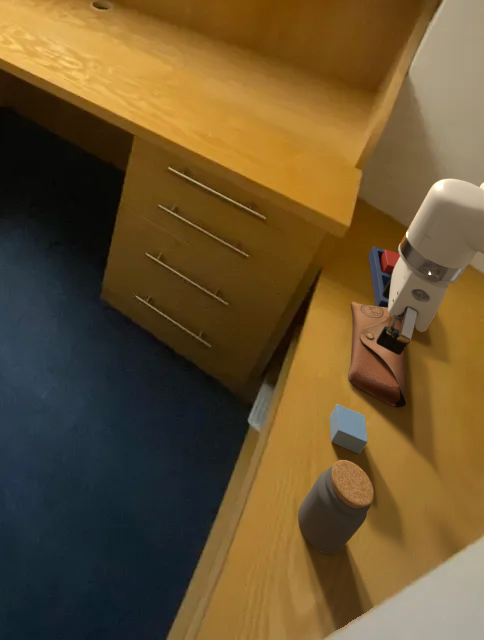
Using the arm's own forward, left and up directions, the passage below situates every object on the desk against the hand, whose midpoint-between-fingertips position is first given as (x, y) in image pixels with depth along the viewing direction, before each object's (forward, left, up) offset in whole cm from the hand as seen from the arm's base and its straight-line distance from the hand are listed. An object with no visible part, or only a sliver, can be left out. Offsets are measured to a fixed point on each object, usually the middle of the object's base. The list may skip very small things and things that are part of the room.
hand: (390, 322), depth 82 cm
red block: (-8, -24, -14) cm, 29 cm away
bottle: (+7, +26, -15) cm, 31 cm away
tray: (-8, -21, -15) cm, 27 cm away
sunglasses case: (-3, -5, -15) cm, 16 cm away
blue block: (+3, +12, -15) cm, 19 cm away
